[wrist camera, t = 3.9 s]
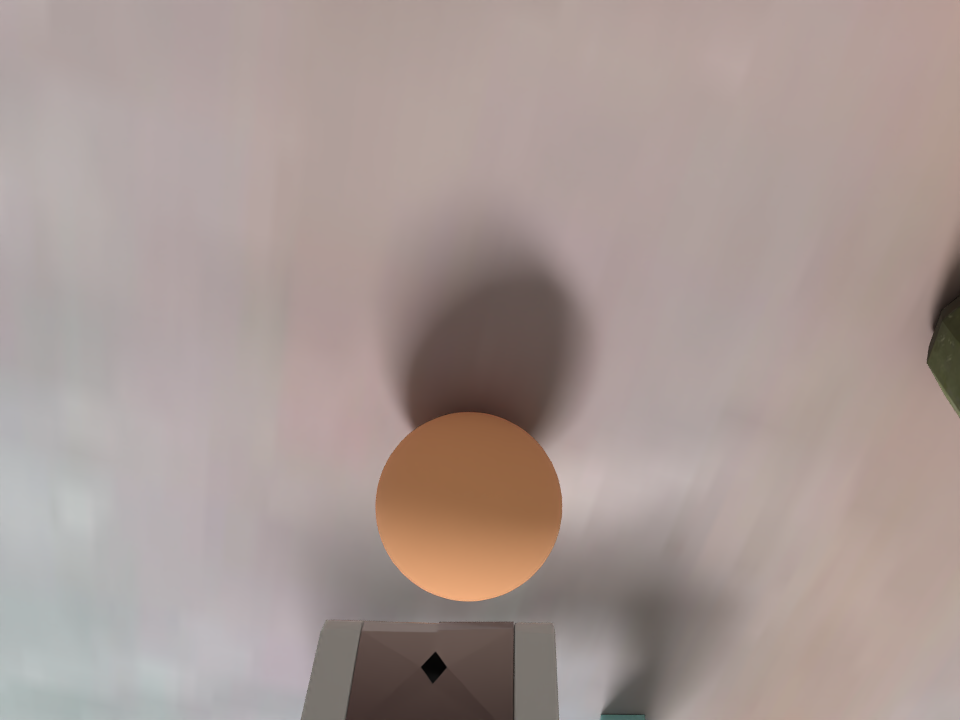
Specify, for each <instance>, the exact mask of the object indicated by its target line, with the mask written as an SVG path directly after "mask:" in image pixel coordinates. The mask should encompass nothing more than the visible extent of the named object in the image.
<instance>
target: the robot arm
mask: <svg viewBox="0 0 960 720" xmlns="http://www.w3.org/2000/svg"><path fill="white" fill-rule="evenodd" d="M301 720H559V707H558V686H557V664H556V643H555V629H554V626H553V623H515V624H514V622H439V623H416V622H387V621H362V620H326V622H325V624H324V626H323V628H322V630H321V632H320V637H319V641H318V645H317V650H316V654H315V659H314V663H313V668H312V672H311V677H310V681H309V686H308V690H307V694H306V699H305V703H304V708H303V712H302V717H301Z"/></svg>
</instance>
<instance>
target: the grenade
mask: <svg viewBox="0 0 960 720" xmlns="http://www.w3.org/2000/svg"><path fill="white" fill-rule="evenodd" d="M927 364H928V366H929V368H930V369H931V371H932V373H933V375H934V377H935V379H936V380H937V382H938V384H939V386H940V388H941V390H942V391H943V393H944V395H945V396H946V398H947V399H948V401H949V402H950V404H951V405H952V407H953V408H954V410H955V411H956V413H957V414H958V416H959V417H960V296H959V297H958V298H956V299H955V300H954V301H953V302H951V303H950V304H949V305H948V306H946V307H945V308H944V309H943V310H942V311H941V314H940V317H939V320H938V322H937V325H936V328H935V331H934V334H933V336H932V339H931V342H930V345H929V350H928V357H927Z"/></svg>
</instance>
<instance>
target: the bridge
mask: <svg viewBox="0 0 960 720" xmlns="http://www.w3.org/2000/svg"><path fill="white" fill-rule="evenodd" d="M601 720H645V715H601Z"/></svg>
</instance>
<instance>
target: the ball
mask: <svg viewBox="0 0 960 720" xmlns="http://www.w3.org/2000/svg"><path fill="white" fill-rule="evenodd" d="M561 517H562V495H561V489H560V484H559V480H558V477H557V474H556V472H555V469H554V467H553V464H552V462H551V461H550V459H549V457H548V456H547V454H546V453H545V451H544V450H543V448H542V447H541V446H540V445H539V444H538V442H537V441H536V440H535V439H534V438H533V437H532V436H530V435H529V434H528V433H527V432H526V431H525V430H523V429H522V428H520V427H519V426H517V425H515V424H513V423H511V422H510V421H508V420H506V419H503V418H500V417H498V416H495V415H491V414H486V413H479V412H458V413H452V414H447V415H444V416H440V417H438V418H435V419H433V420H431V421H428V422H426V423H425V424H423V425H421V426H419V427H418V428H416V429H415V430H414V431H412V432H411V433H410V434H409V435H407V436H406V437H405V438H404V439H403V440H402V441H401V442H400V443H399V445H398V446H397V447H396V449H395V450H394V451H393V453H392V454H391V455H390V457H389V459H388V461H387V463H386V465H385V467H384V469H383V471H382V474H381V477H380V480H379V484H378V487H377V494H376V520H377V526H378V530H379V534H380V537H381V540H382V543H383V545H384V547H385V549H386V551H387V553H388V555H389V556H390V558H391V560H392V561H393V563H394V564H395V565H396V566H397V567H398V569H399V570H400V571H401V572H402V573H403V574H404V575H405V576H406V577H407V578H408V579H409V580H410V581H412V582H413V583H414V584H416V585H417V586H419V587H420V588H422V589H424V590H425V591H427V592H429V593H432V594H434V595H437V596H440V597H443V598H446V599H451V600H457V601H480V600H486V599H491V598H495V597H498V596H501V595H504V594H506V593H508V592H510V591H512V590H514V589H515V588H517V587H519V586H520V585H522V584H523V583H524V582H526V581H527V580H528V579H530V578H531V577H532V576H533V575H534V574H535V573H536V572H537V570H538V569H539V568H540V567H541V566H542V565H543V563H544V562H545V560H546V559H547V557H548V556H549V554H550V552H551V550H552V548H553V546H554V544H555V541H556V539H557V536H558V533H559V529H560V524H561Z"/></svg>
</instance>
